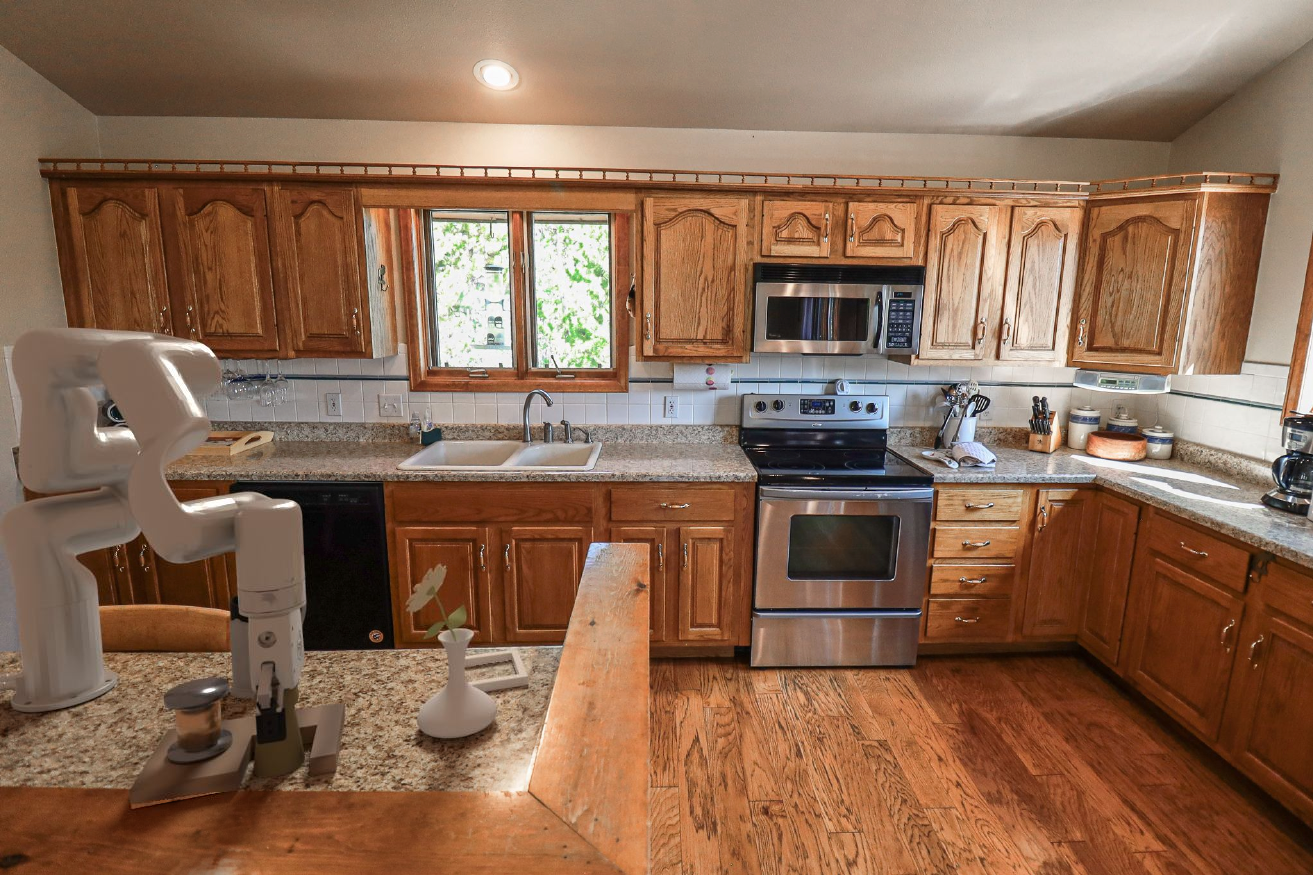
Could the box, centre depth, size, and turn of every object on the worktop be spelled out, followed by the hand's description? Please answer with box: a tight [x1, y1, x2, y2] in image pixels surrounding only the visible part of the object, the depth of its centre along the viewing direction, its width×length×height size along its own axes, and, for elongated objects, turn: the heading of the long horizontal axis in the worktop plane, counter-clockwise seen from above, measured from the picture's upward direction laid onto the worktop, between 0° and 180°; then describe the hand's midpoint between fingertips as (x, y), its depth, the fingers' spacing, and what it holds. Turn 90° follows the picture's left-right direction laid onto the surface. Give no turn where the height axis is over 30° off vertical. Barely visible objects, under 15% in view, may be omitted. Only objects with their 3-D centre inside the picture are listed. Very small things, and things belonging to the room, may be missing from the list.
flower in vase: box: [405, 563, 498, 739], centre depth 96 cm, size 13×11×25 cm
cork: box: [252, 683, 306, 779], centre depth 87 cm, size 6×6×11 cm
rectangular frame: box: [465, 648, 529, 693], centre depth 113 cm, size 11×11×2 cm
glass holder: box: [229, 594, 307, 699], centre depth 111 cm, size 9×14×15 cm, turn 164°
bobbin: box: [163, 676, 233, 765], centre depth 86 cm, size 7×7×8 cm
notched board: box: [129, 702, 346, 805], centre depth 89 cm, size 22×14×2 cm, turn 111°
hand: (279, 721), depth 87 cm, fingers open, 9 cm apart
